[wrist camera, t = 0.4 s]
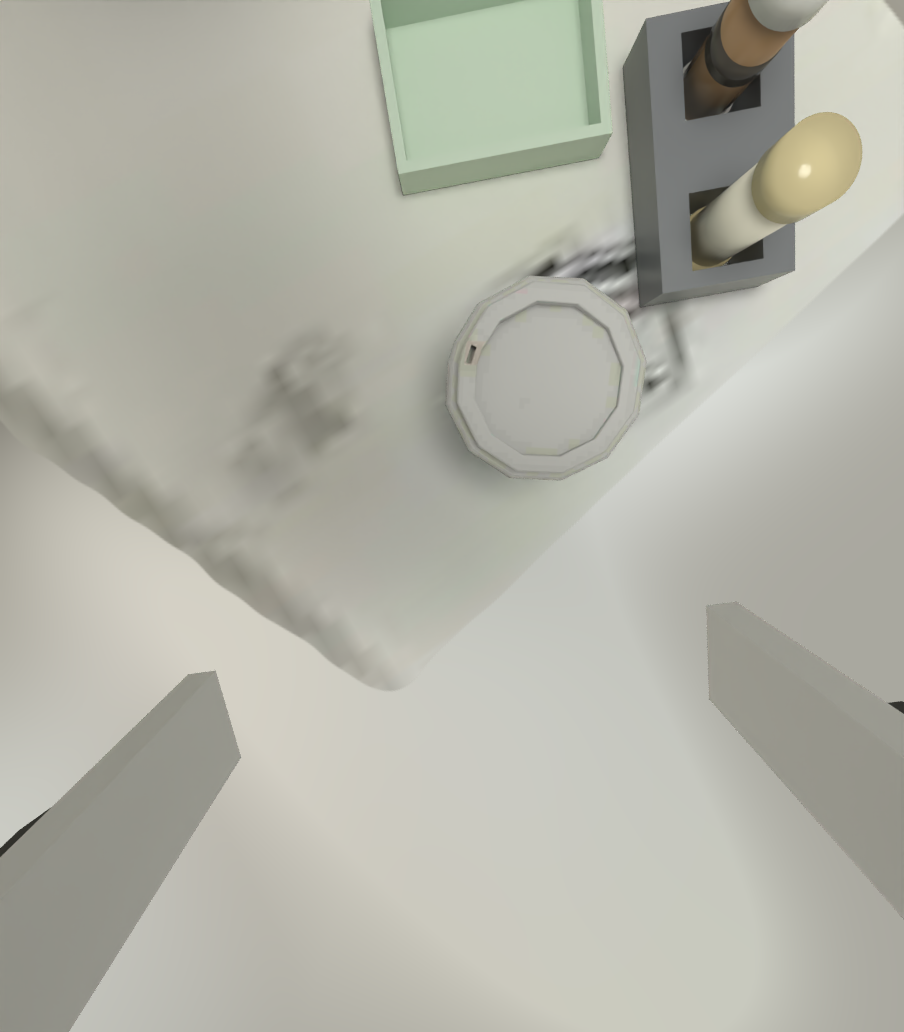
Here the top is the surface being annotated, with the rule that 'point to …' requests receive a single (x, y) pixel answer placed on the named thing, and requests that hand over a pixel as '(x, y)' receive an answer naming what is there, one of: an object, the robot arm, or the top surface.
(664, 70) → the grey rectangular block
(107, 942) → the robot arm
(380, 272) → the top surface
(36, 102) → the top surface
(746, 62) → the cylinder
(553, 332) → the disposable coffee cup
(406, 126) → the parts tray
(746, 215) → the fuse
